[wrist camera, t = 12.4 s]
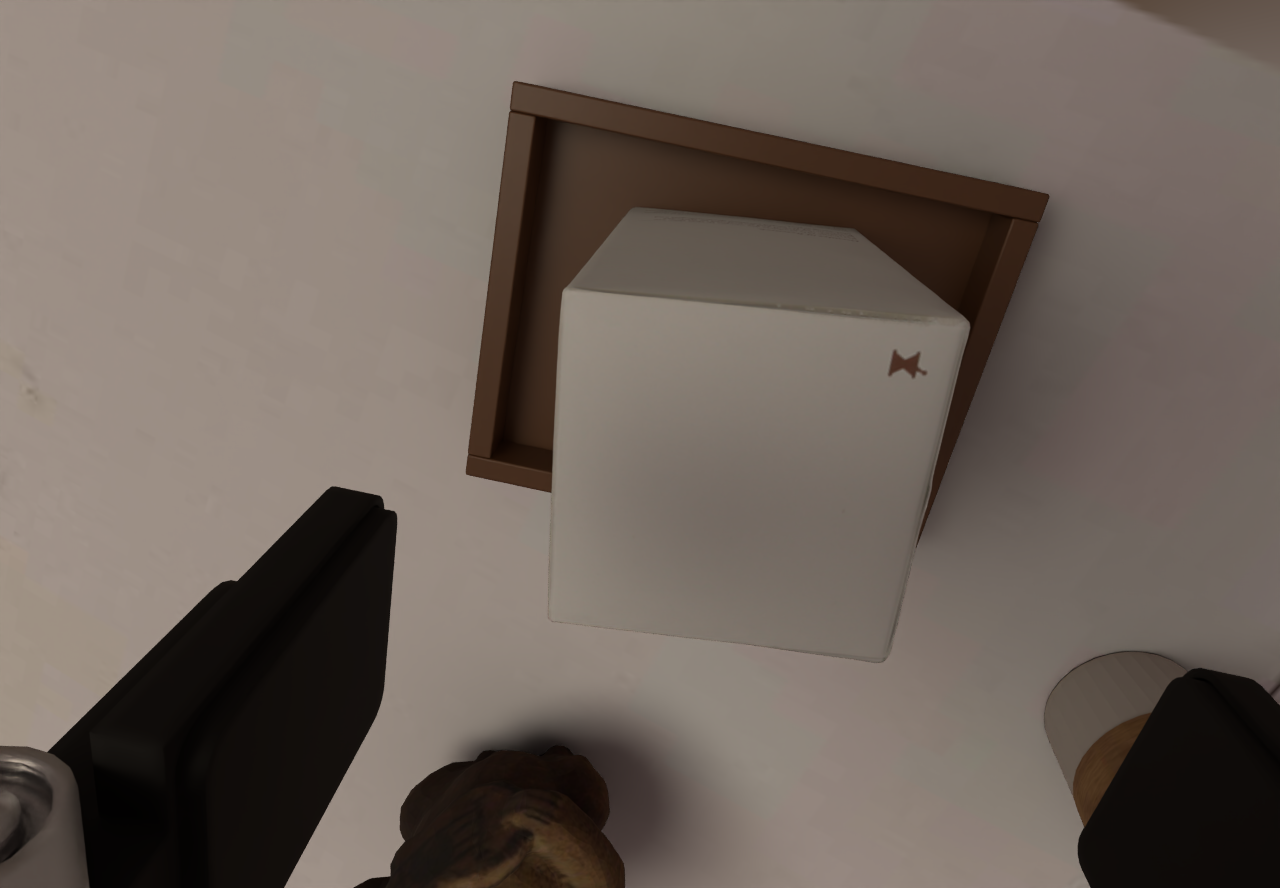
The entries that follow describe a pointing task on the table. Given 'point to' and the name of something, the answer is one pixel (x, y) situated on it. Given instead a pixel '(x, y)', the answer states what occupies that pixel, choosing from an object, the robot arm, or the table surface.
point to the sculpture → (507, 826)
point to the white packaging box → (745, 433)
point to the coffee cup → (1103, 718)
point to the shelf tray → (713, 184)
